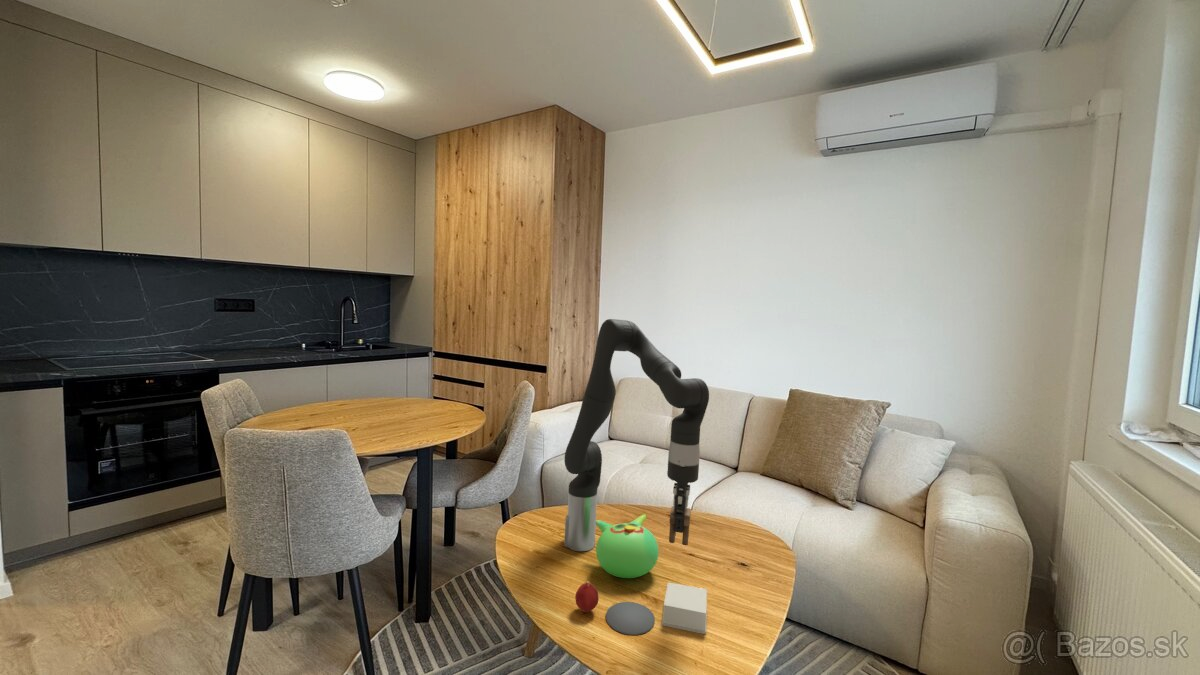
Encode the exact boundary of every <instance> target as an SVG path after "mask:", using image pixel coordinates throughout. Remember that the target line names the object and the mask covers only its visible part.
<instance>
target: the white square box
mask: <svg viewBox="0 0 1200 675" xmlns="http://www.w3.org/2000/svg"><path fill="white" fill-rule="evenodd" d="M707 599H708V589H706V588H700V587H695V586H691V585H690V586H689V585H685V584H679V583H674V582H669V581H668V582H667V586H666V592H665V597H664V603H663V612H662V613H663V614H662V615H663V616H662V620H661V626H663V627H667V628H668V627H669V628H672V629H677V630H683V631H687V632H693V633H698V634H702V635H707V614H708V605H707Z"/></svg>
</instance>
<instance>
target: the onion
mask: <svg viewBox="0 0 1200 675" xmlns="http://www.w3.org/2000/svg"><path fill="white" fill-rule="evenodd" d="M574 598H575V604H576V606H577V607H578V609H580V610H581V611H582V612H583V613H586V614H588V613H590V612H591V611H593V610H594V609H595V608H596V607H597V605H598V604H599V603H598V602H599V598H600V597H599V592H598V590H597V588H596V586H594V585H593V583H591V582H590V581H588V580H587V581H586V582H585V583H583V584H581V585H580V586H579V587H578V589H577V591H576V593H575V597H574Z"/></svg>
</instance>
